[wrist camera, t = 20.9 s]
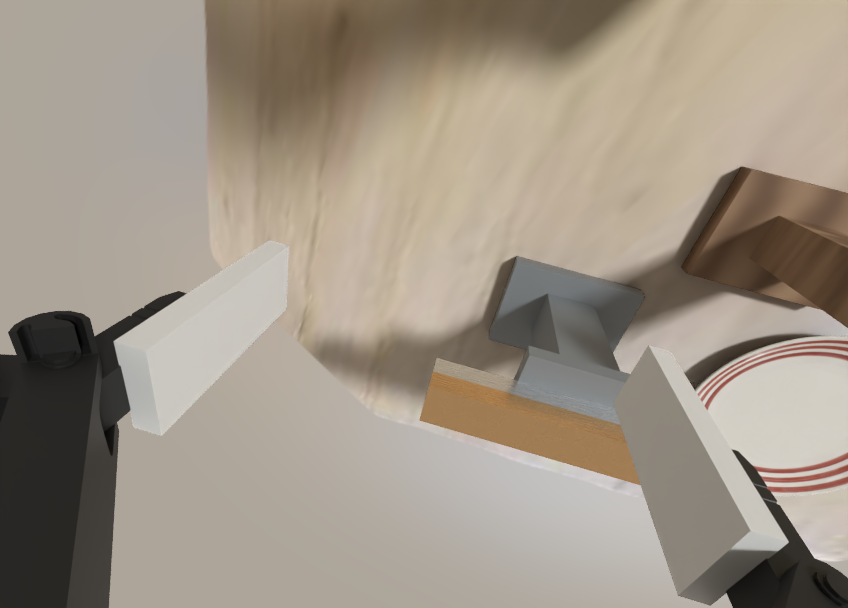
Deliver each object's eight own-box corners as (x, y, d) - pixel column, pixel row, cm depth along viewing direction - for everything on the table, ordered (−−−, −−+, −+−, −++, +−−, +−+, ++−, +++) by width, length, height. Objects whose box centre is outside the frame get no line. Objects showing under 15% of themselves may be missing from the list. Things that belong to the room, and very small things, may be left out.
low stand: (489, 331, 57) (482, 437, 40) (516, 256, 51) (521, 342, 34) (599, 362, 56) (640, 484, 39) (640, 289, 50) (710, 396, 33)
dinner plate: (632, 431, 61) (638, 448, 58) (778, 289, 47) (796, 302, 45) (788, 501, 62) (802, 521, 59) (976, 382, 49) (1005, 401, 46)
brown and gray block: (427, 390, 38) (419, 420, 35) (436, 357, 36) (429, 386, 33) (655, 456, 37) (671, 494, 33) (678, 426, 35) (697, 463, 31)
